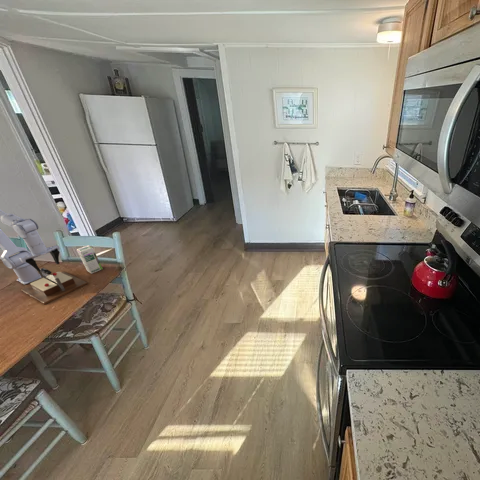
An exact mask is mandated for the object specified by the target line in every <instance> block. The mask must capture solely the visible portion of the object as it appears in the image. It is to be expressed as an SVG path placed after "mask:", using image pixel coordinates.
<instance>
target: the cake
mask: <svg viewBox="0 0 480 480" xmlns="http://www.w3.org/2000/svg"><path fill="white" fill-rule="evenodd" d="M61 272H62V271H56V272H53V273H51V274H52V275H54V276H55V278H59V280H60V281H61V283H62V285H63V287H64V288H65V287H68V286H70V285H72V284H74V283H75V282H74V280H73V278H72V277H70V276H68V275H66V274H63V273H61ZM47 279H48V278H46V279H45V278H40V279H37V280H35V281H33V282H30V283H29V284H30V285H31V286H32V288H33V289H35V290H36V291H38V292H40V293H42V294H44V295H45V296H48V295H50V294H52V293H55V292H57V291H59V290H60V289H59V285H58V284H57V283H55V282H53V281H51V280H50V279H48V280H47ZM30 285H29V286H30Z"/></svg>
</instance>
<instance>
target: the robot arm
mask: <svg viewBox="0 0 480 480" xmlns="http://www.w3.org/2000/svg"><path fill="white" fill-rule="evenodd" d="M0 222H1V223H2V224H3V225H6V226H7V227H9V228H11V229H13V230H14V232H15V233H16V234H17V235H18V236H19V237H20V238H21V239H22V240H23V241H24V243H25V245H26V246H27V248H28V249H27V248H26V247H21V246H17V245H16V244H15V243H14V241H12V239H11V238H10V237H9V236H8V235H7V234H6V232H5V231H4V230H3V229H2V228H0V249H1V250H2V251H3V252H2V254H1V255H0V260H1V261H2V263H3V265H4V266H5V267H6V268H8V269H11V270H13V272H14V273H15V275H16V276H17V279H16V281H17V282H19V283H20V284H23V285H27V284H30V283H32V282H34V281H37V280H39V279H42V277H41V276H40V274H39V272H40V269H41V268H40V267H39V266H38V264H37V261H36V260H35V259H36V258H38V257H41V256H44V255H47V254H50V255H51V257H52V259H53V261H54V263H55V264H56V265H60V253H61V252H60V250H61V247H60V246H59V245H57V244H56V245H52V246H49V247H47V245H46V243H45V242H44V240H43V239H42V236H41V235H40V233H39V231H38V230H39V225H38V223H37V222H36V221H35V220H34V219H32V218H23V217H21V216H19V215H17V214H15V213H12V212H6V211H4V210H3V209H1V208H0Z"/></svg>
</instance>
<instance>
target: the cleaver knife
mask: <svg viewBox="0 0 480 480" xmlns="http://www.w3.org/2000/svg"><path fill="white" fill-rule="evenodd" d="M39 269H40V271H41V273H42V275H43V276H44V277H46V279H47V278H48V279H50V280H51V281H53V282H55V283H57V282H56V280H55V276H54V275H52V274H53V273H52V271H51V270H50V269H47V268H45V267H42V268H39Z"/></svg>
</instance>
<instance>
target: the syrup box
mask: <svg viewBox="0 0 480 480" xmlns="http://www.w3.org/2000/svg"><path fill="white" fill-rule="evenodd" d="M76 252H77V254H78V256H79V258H80V260H81V262H82V263H83V265H84V268H85V270H86V271H87V272H88V273H90V274H91V275H93V274H95V273H97V272H99V271H102V270H103V267H102V264H101V262H100V260H99V258H98V255H97V254H96V251H95V249H94V248H93V246H91V245H89V244H88V245H85V246H83V247H79V248H77V249H76Z"/></svg>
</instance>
